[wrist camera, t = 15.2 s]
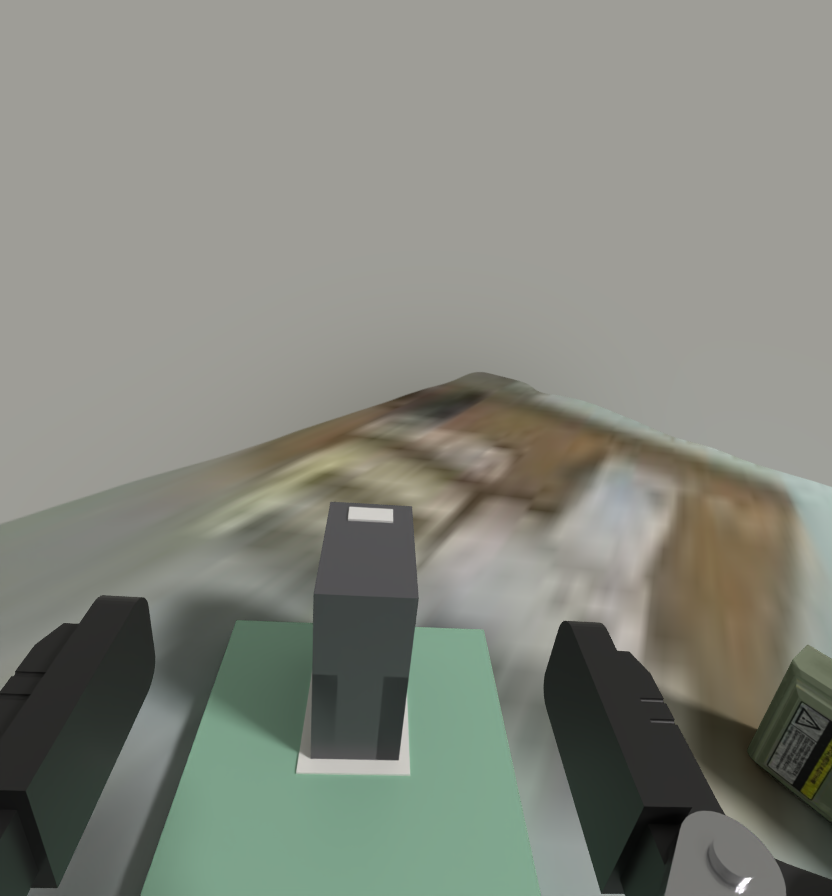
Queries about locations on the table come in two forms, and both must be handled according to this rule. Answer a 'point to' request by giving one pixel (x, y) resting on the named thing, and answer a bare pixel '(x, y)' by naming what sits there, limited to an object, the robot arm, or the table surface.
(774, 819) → the table surface
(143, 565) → the table surface
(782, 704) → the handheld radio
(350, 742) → the block
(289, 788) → the pale green flat block
